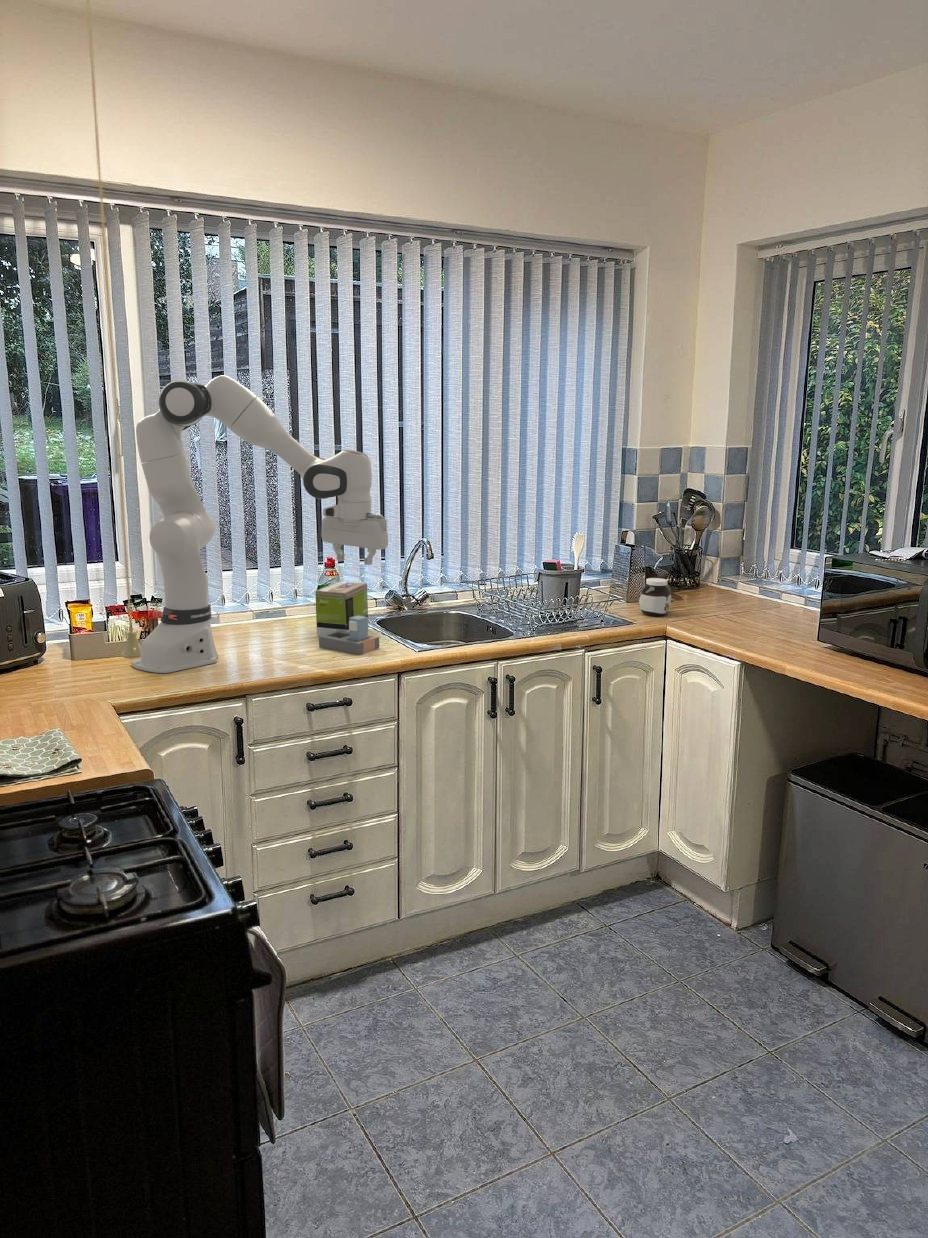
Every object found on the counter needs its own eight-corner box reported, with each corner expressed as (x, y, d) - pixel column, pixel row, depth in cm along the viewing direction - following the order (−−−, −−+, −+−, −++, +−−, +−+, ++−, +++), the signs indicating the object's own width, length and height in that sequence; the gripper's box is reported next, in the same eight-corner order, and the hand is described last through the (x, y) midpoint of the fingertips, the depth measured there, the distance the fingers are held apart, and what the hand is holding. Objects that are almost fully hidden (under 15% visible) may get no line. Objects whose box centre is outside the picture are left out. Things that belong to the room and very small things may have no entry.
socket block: (358, 658, 251) (358, 643, 250) (319, 650, 258) (318, 635, 257) (379, 651, 258) (379, 636, 258) (340, 643, 266) (339, 629, 265)
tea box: (339, 627, 284) (338, 580, 281) (369, 631, 281) (368, 582, 278) (315, 639, 271) (314, 589, 267) (346, 642, 267) (346, 592, 264)
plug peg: (357, 652, 253) (357, 620, 251) (347, 650, 255) (347, 618, 253) (368, 649, 257) (367, 617, 255) (358, 647, 259) (358, 615, 257)
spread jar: (655, 618, 303) (657, 583, 300) (627, 612, 311) (629, 578, 308) (676, 613, 311) (679, 579, 308) (649, 607, 319) (651, 574, 316)
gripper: (393, 514, 247) (392, 565, 251) (332, 507, 258) (332, 556, 261) (379, 516, 242) (378, 568, 245) (317, 508, 252) (317, 559, 255)
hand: (354, 562), depth 253 cm, fingers open, 8 cm apart
